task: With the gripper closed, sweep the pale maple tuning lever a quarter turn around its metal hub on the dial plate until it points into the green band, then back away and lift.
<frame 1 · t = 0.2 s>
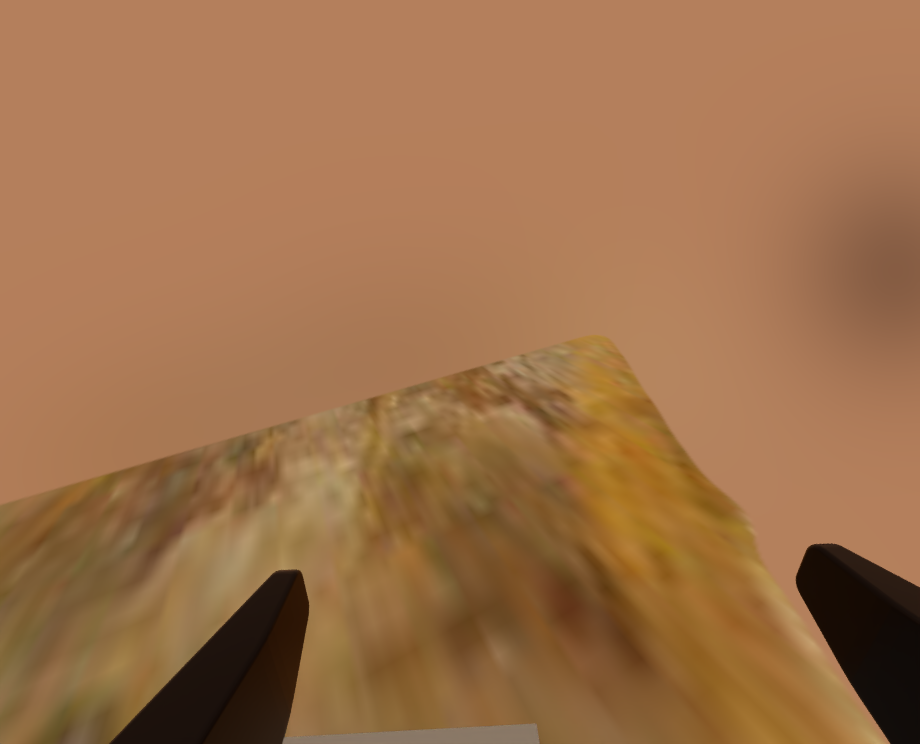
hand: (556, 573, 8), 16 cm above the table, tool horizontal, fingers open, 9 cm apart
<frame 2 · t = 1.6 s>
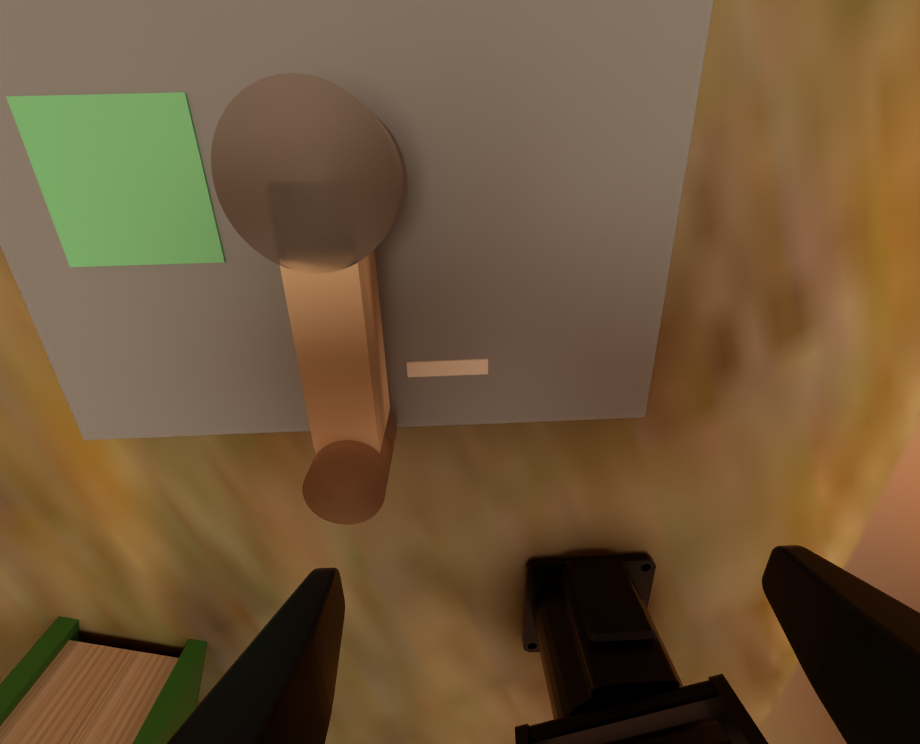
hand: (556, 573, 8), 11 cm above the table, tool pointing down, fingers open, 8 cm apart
tuning lever: (336, 319, 13), point 4 cm above the table, hinge at 0.0°
hardback book: (130, 721, 27), on the table
dial plate: (346, 179, 15), on the table
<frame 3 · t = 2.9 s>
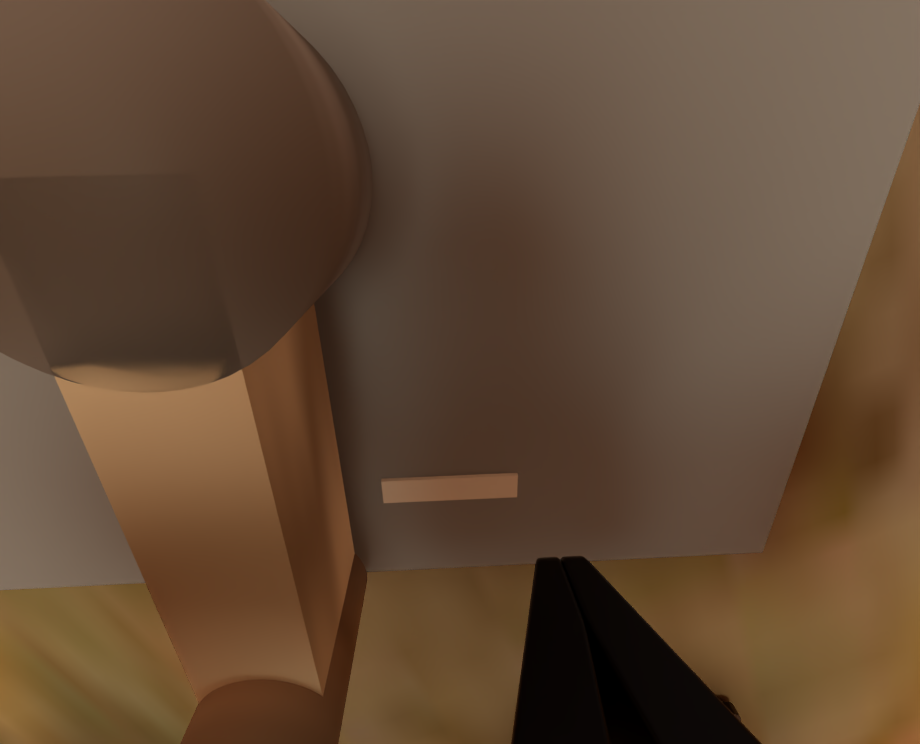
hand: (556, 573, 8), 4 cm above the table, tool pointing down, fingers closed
tuning lever: (227, 456, 6), point 4 cm above the table, hinge at 0.0°
dial plate: (271, 171, 9), on the table
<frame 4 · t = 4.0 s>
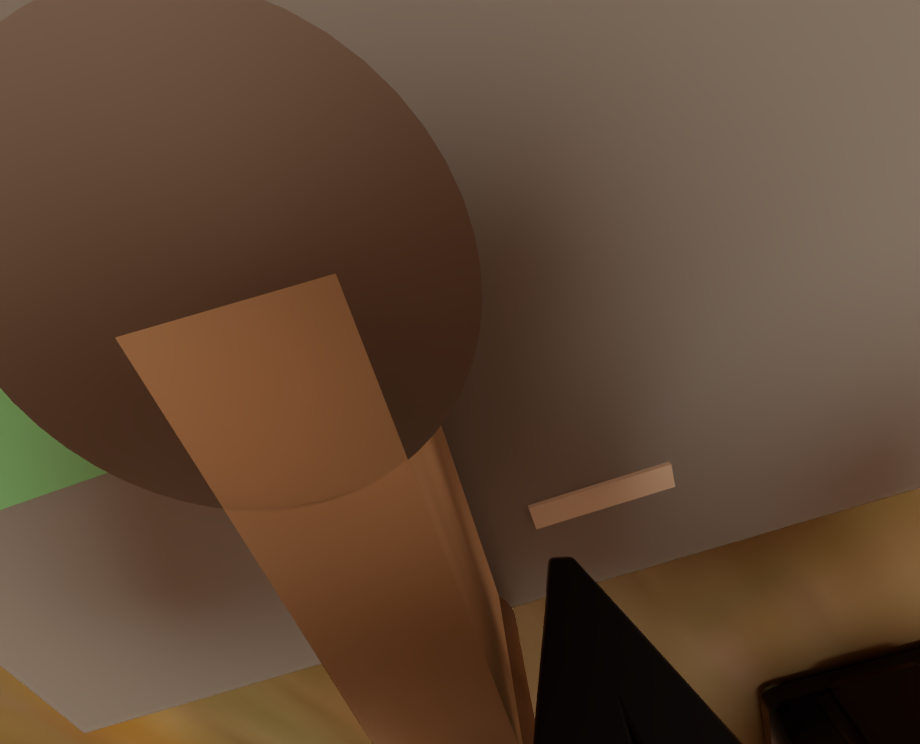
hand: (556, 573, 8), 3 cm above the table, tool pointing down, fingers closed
tuning lever: (382, 538, 6), point 4 cm above the table, hinge at 4.0°, touching gripper
dial plate: (336, 234, 8), on the table
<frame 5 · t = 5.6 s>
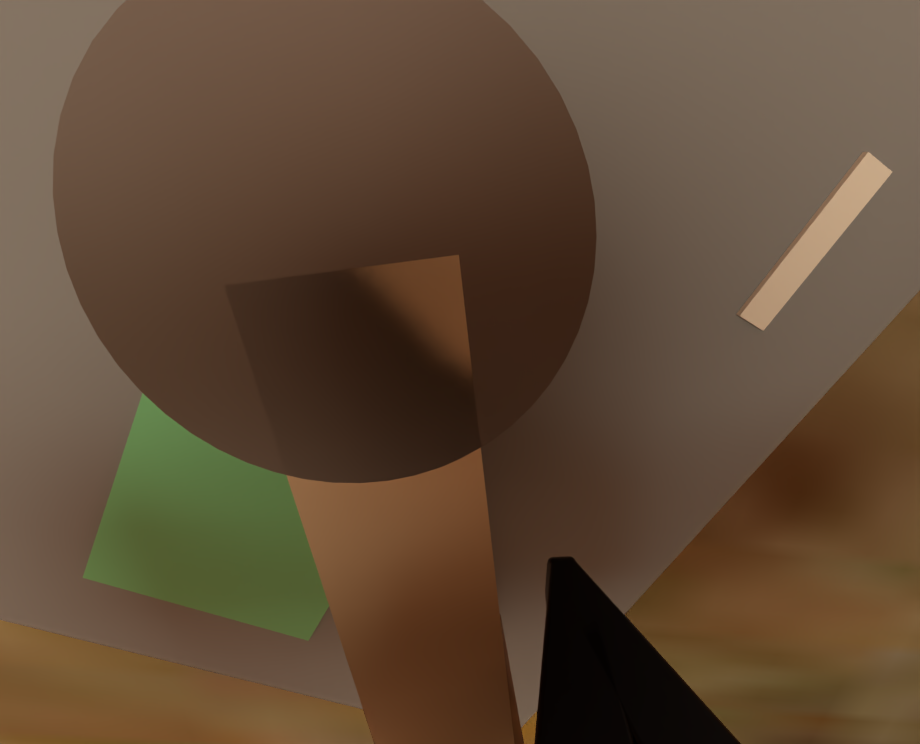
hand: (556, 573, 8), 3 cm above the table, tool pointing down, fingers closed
tuning lever: (413, 527, 6), point 4 cm above the table, hinge at 54.6°, touching gripper
dial plate: (386, 221, 8), on the table
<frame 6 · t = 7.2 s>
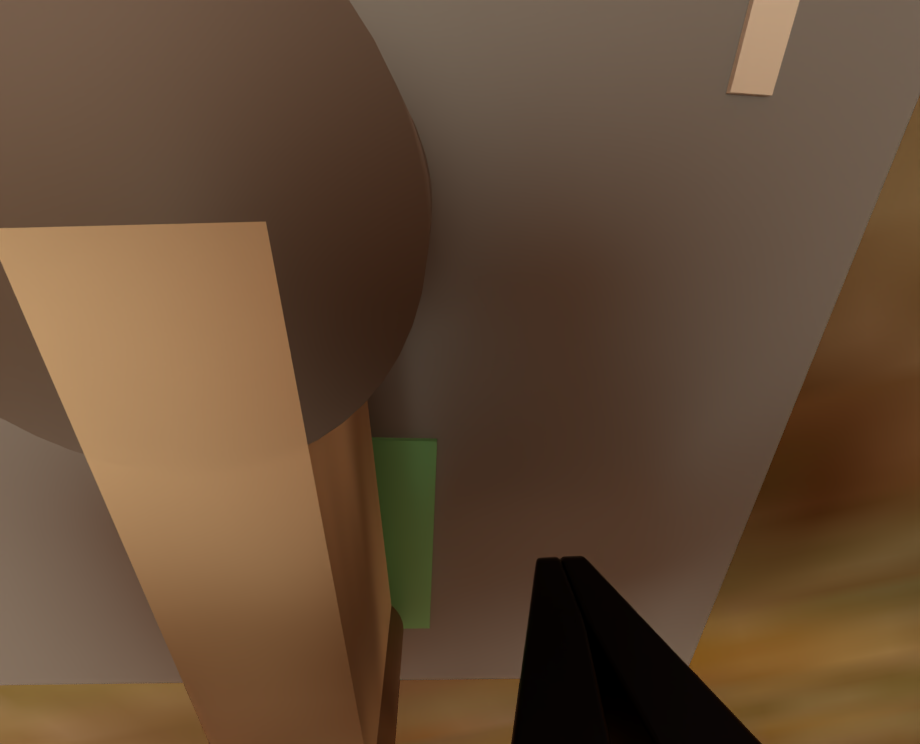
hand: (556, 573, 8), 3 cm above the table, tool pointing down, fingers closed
tuning lever: (271, 523, 6), point 4 cm above the table, hinge at 85.7°
dial plate: (308, 194, 8), on the table
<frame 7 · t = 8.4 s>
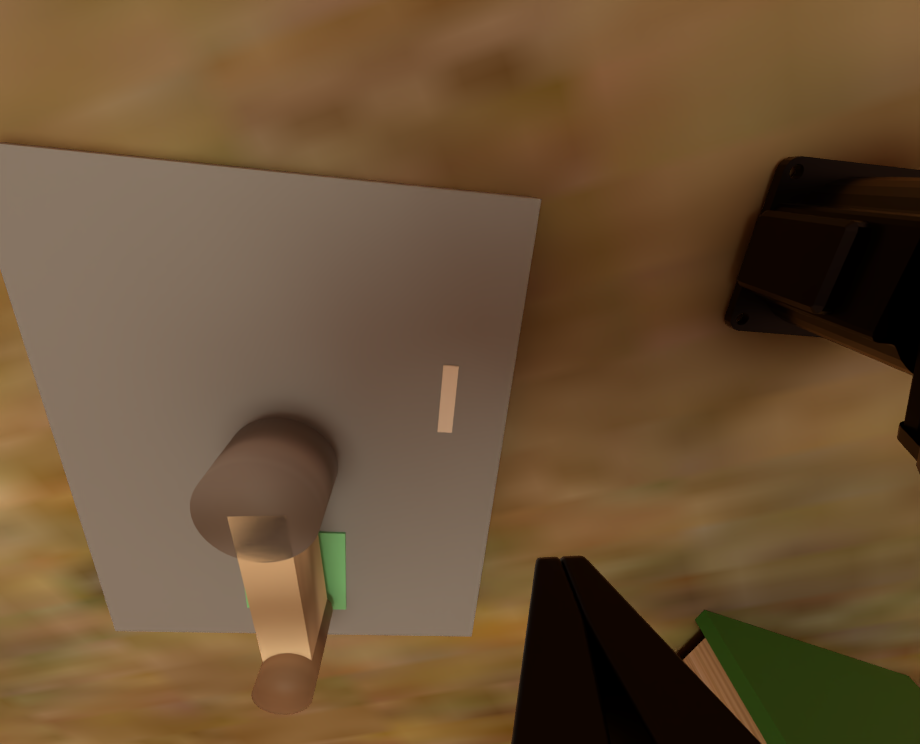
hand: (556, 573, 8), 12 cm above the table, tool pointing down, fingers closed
tuning lever: (280, 571, 18), point 4 cm above the table, hinge at 85.6°
hardback book: (771, 676, 30), on the table
dial plate: (296, 437, 20), on the table
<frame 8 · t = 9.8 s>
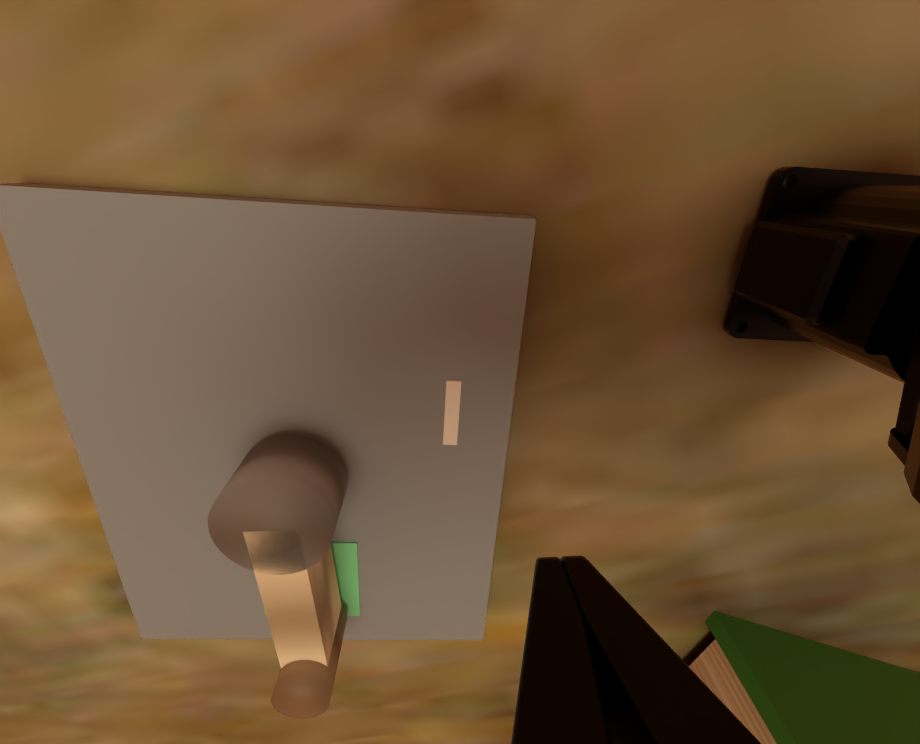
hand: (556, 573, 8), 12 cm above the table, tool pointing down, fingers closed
tuning lever: (295, 581, 19), point 4 cm above the table, hinge at 85.6°
hardback book: (785, 676, 30), on the table
dial plate: (308, 451, 21), on the table
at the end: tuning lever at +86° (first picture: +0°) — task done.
